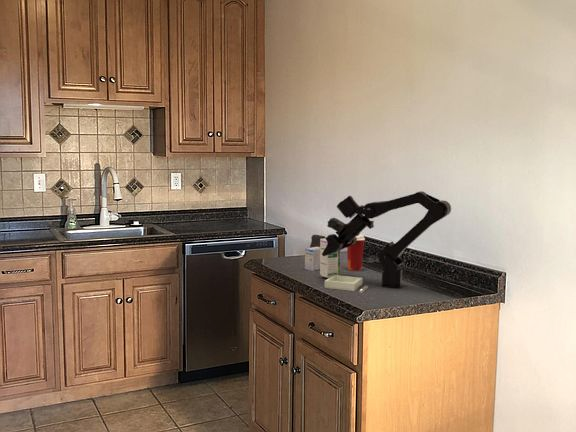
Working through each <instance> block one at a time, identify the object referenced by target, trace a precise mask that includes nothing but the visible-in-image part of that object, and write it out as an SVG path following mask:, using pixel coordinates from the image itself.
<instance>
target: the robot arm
mask: <svg viewBox="0 0 576 432" xmlns="http://www.w3.org/2000/svg"><path fill="white" fill-rule="evenodd" d="M415 204H418V205H421V206H422V207H423V208H425V209H426V210H427V211H426V213H425V215H424V217H423V218H422V219H421V220H419V221H418V222H417V223H416V224H415V225H414V226H413V227H412V228H410V229H409V230H408V232H406V233H405V234H404V235H403V236H402V237H401V238H400V239H399V240H397V242H395V243H394V241H391V242H388V243H387V244H386V245H385V246H384V247H383V248H382V249H380V250H379V251H380V252H379V253H378V257H377V258H378V262H379V263H380V264H381V266H382V268H383V271H382V273H381V284H382V285H381V286H382V287H386V288H387V287H388V288H397V289H398V288H399V289H400V288H401V287H402V286H403V285H404V283H403V267H404V265H405V262H404V261H403V260H402V258H401V256H402V255H403V253H404V251H405V250H406V249H407V248H408V247H409V246H410V245H411V244H412V243H414V242H415V241H416V240H417V239H418V238H419V237H420V236H421V235H422V234H424V233H425V232H426V231H427V230H428V229H429V228H430V227H431V226H432V225H434V224H436V223H437V222H439V221H441V220H442V219H444V218H445V217H447V216H449V215H450V213H451V212H452V206H451V204H450V203H449V201H447V200H443V199H442V200H440V199H438V198H436V197H434V196H432V195H430V194H428V193H426V192H425V191H417V192H415V193H413V194H412V193H411V194H409V195H405V196H401V197H398V198H394V199H390V200H381V201H371V202H367V203H365V204H364V205H363V204H362V205H359V204H358V203H357V202H356V201H355V199H354V198H353V196H352V195H348V196H347V197H345V198H344V199H343V200H342V201H340V202H338V203H337V205H336V208H337V209H338V210H339V213H341V214H342V215H343V216H344V217H345V218H346V219H347V218H349V219H350V220H349V221H348V222H347V223H344V221H341V220H340V219H338V218H336V217H331V218H330V219H329V220H328V221H327V225H326V226H327V228H330V229H332V230H334V231H335V233H336V234H335V233H331V234H328V235H327V236H325V237H326V240H327V243H328V244H327V246H326V248H325V250H324V251H323V253H322V255H323V256H326V255H329V254H331V253H334V252H336V251H339V250H340V251H341V250H344V249H346V248H347V247H349V246H351V245H353V244H354V243H356V242H357V238H356V236H358V235H361V232H363V231H364V230H365V229H366V228H368V229H373V228H375V225H374V222H375V221H374V220H372V219H374V218H379V217H380V216H382V215H385V214H386V213H388V212H390V211H394V210H397V209H400V208H405V207H408V206H412V205H415ZM370 219H371V220H370ZM350 243H351V244H350Z"/></svg>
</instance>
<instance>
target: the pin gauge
mask: <svg viewBox="0 0 576 432" xmlns="http://www.w3.org/2000/svg"><path fill="white" fill-rule="evenodd" d="M368 288H369V286H368V285H364V286H363V287H362V288H360V289H359V290H358V294H362V293H364V292H365V291H367V289H368Z"/></svg>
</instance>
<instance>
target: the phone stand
mask: <svg viewBox="0 0 576 432" xmlns="http://www.w3.org/2000/svg"><path fill="white" fill-rule="evenodd" d="M326 237H327V236H324V235H319V234H312V235H311V239H310V240H311V242H310V245H309V248H312V247H320V239H325V238H326Z"/></svg>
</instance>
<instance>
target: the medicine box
mask: <svg viewBox="0 0 576 432" xmlns="http://www.w3.org/2000/svg"><path fill="white" fill-rule="evenodd" d="M304 270H306V271H309V272H310V271H311V272H314V271H317V270H320V247H312V248H310V247H309V248H305V249H304Z"/></svg>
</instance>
